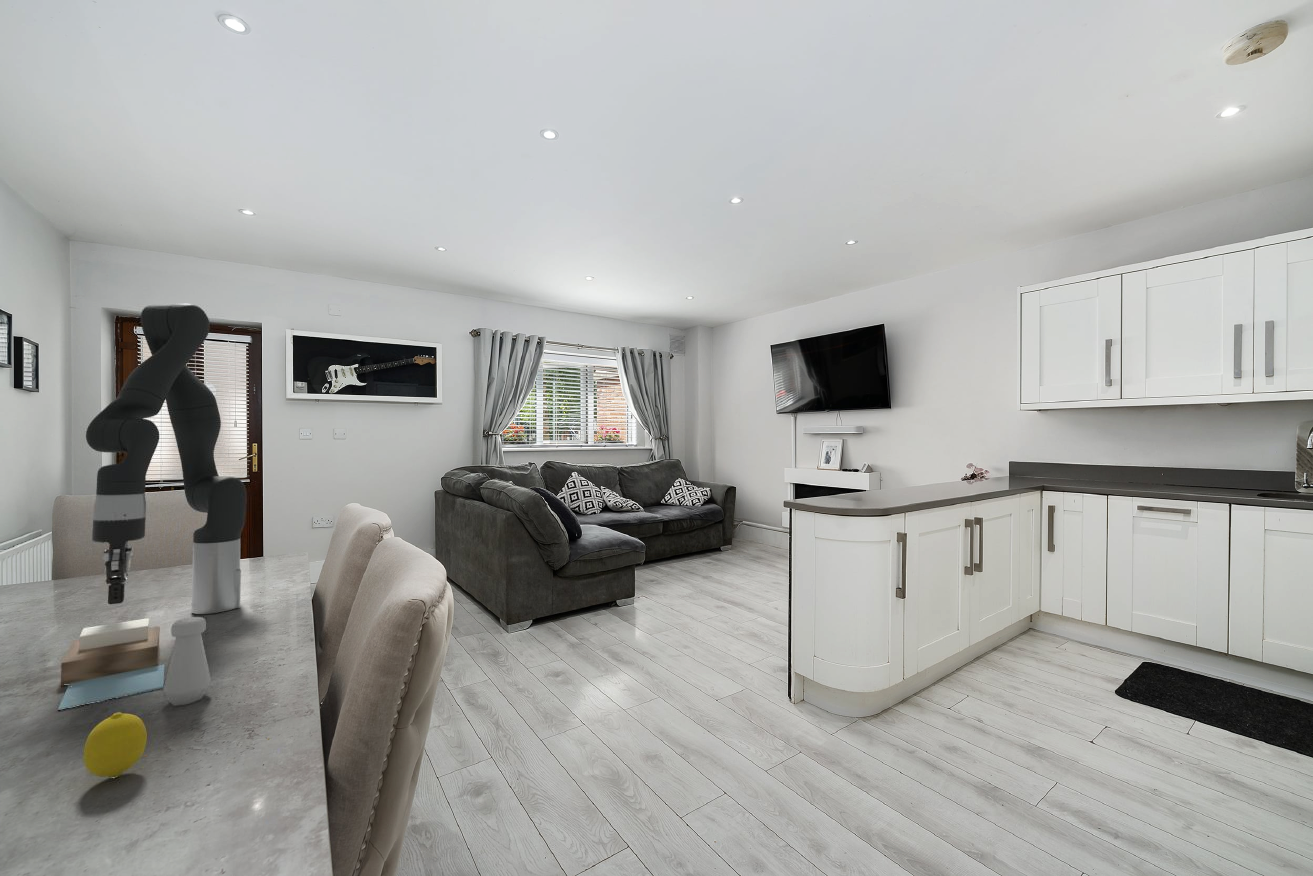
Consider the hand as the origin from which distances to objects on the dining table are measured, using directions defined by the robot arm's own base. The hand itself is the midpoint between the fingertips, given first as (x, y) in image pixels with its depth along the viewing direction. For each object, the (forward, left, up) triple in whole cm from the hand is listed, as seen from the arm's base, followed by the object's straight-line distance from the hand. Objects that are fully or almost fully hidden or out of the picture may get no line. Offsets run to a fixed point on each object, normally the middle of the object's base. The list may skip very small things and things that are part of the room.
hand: (116, 602), depth 107 cm
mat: (-2, +23, -9) cm, 25 cm away
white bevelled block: (-1, +8, -5) cm, 10 cm away
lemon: (-4, +58, -10) cm, 59 cm away
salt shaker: (-11, +37, -10) cm, 40 cm away
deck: (-1, +10, -9) cm, 14 cm away
